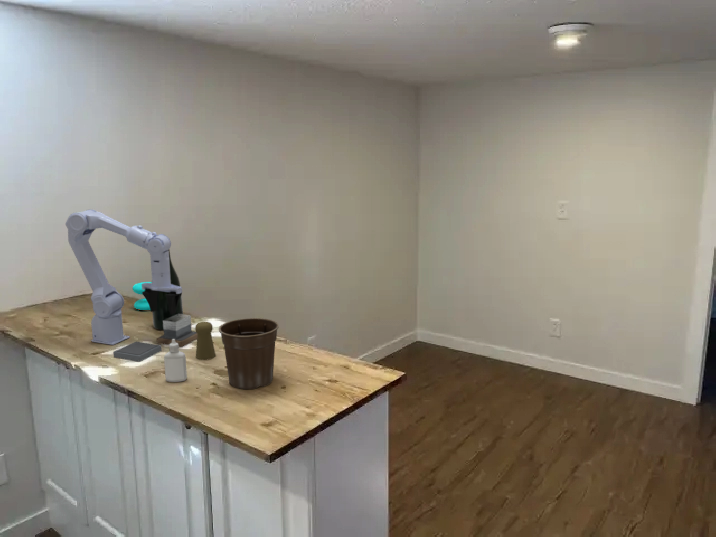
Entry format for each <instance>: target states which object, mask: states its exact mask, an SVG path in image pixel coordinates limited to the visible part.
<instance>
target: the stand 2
mask: <svg viewBox="0 0 716 537" xmlns="http://www.w3.org/2000/svg"><path fill="white" fill-rule="evenodd" d="M194 341H197V333H196V331H193V330H192V332H191V333H189V334H187V335H185V336H183V337H181V338H179V339H177V340H176V339H175V342H176V343H178V345H179V348H183V347H185V346H187V345H189V344H191V343H192V342H194ZM171 343H172V339H169V338H164V334H162V335H160V336H158V337H156V344H158V345H160V344H161V345H166V346H167V345H168V346H169V344H171Z"/></svg>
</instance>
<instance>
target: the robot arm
mask: <svg viewBox="0 0 716 537" xmlns="http://www.w3.org/2000/svg"><path fill="white" fill-rule="evenodd" d="M65 226H66V228H67V240H68V243H69V246H70V248H71V250H72V252H73V254H74V256H75V259H76V260H77V262H78V264H79V266H80V268H81V271H82V273H83V274H84V276H85V278H86V280H87V282H88V284H89V286H90V288H91V290H92V294H91V296H90V300H91V302H92V310H93V312H94V314H95V315H93V317H92V319H91V322H90V325H91V331H92V334H91V335H92V339H91V340H90V341H92V343H99V344H105V345H111V346H114V345H116V344H118V343H121V342H123V341H126V340H128V339H130V336H129V335H125V334H124V325H123V315H122V308H124V305H125V298H124V297H123V295H122V294H121V293H119V292H118V290H117V288H116V287H115V286H113V285H111V284H110V283H109V281H108V279H107V277H106V274H105V273H104V271H103V268H102V266H101V264H100V262H99V261H98V258H97V256H96V254H95V252H94V250H93V248H92V246H91V243H90V242H89V240H90V238H91V237H92V234H93V233H94V231H95V230H96V229H103V230H107V231H110V232H112V233H115V234H118V235H121V236H123V237H125V238H126V240H127V242H129V243H131V244H133V245H134V246H135V245H136V246H138V247H140V248H142V249H145V250H147V252H148V253H149V255H150V273H151V282H152V283H143V284H142V290H145V291H144V292H142V294H143V295H142V294H141V295H142V296H143V297H144V298H146V300H147V302H148V304H149V307H150V312H151V313H152V312H154V311H156V310H157V295H158V291H163V292H170V293H169V294H167V295H166V297H167V300H168V304H169V312H170V314H171V315H172V314H175V313H176V308H177V304H178V301H179V299H180V297H181V295H182V294H183V287H182V286H181V287H179V286H175V285H172V284H171V281H170V264H169V251H168V250H169V249H171V246H172V242H171V239H170V238H169V236H167V235H166V234H164V233H159V234H158V233H157V232H156V231H150V230H148V229H146V228H144V226H143V225H142V224H141V225H140V224H138V225H132V226H129V225H127V224H125V223H123V222H121V221H118V220H116V219H115V218H112V217H110V216H108V215H106V214H105V213H104V212H102V211H97V210H95V209H93V208H92V209H91V208H90V209H86V210H83V211H79V212H77V211H76V212H73V213H70V215H69V216H68V217H67V219H66V221H65Z"/></svg>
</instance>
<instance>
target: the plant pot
mask: <svg viewBox="0 0 716 537" xmlns="http://www.w3.org/2000/svg"><path fill="white" fill-rule="evenodd" d="M279 326H280V324H279V323H278V322H277V321H276V320H272V319H268V318H264V317H263V318H261V317H250V318H246V317H245V318H239V319H238V318H237V319H234V320H230V321H227V322H224V323H222V324H221V325H220V326H219V327H218V331H219V334H220V336H221V342H222V345H223V347H224V348H223V349H224V355H225V362H226V369H227V376H228V383H229V384H230V385H231V386H232V387H233V388H235V389H241V390H253V389H258V387H262V388H263V387H266V386H268V385H270V384H271V383H272V382H273V380H274V369H275V366H274V365H275V354H276V353H275V352H276V351H275V350H276V341H277V338H278V336H277V335H278V329H279Z"/></svg>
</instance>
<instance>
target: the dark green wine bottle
mask: <svg viewBox="0 0 716 537" xmlns="http://www.w3.org/2000/svg"><path fill="white" fill-rule="evenodd" d="M170 249H171V248H170ZM170 249H169V250H168V251H169V264H170V281H171V284H172V285H175V286H179V287H182V286H181V281H180V277H179V276H178V273H177V271H176V269H175V267H174V265H173V262H172V259H171V250H170ZM169 293H170V292H163V291H158V295H157V310H156V311H154V312H151V313H152V324H153V328H154V329H156V330H160V331H164V328H163V320H165V319H167V318H170V317H172V316H174V315H177V314H184V308H183V297H182V295H181V297H180V299H179V301H178V304H177V308H176V313H175V314H172V315H171V314H170V312H169V304H168V300H167V297H166V295H167V294H169Z"/></svg>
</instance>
